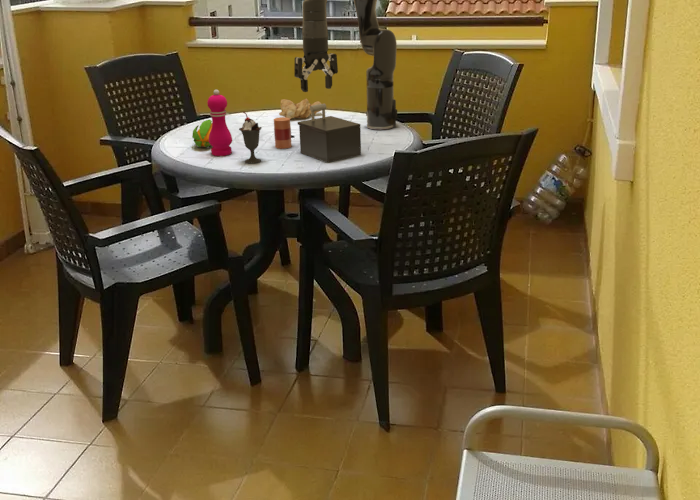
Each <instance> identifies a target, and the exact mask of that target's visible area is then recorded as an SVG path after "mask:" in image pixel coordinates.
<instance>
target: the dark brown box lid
mask: <svg viewBox="0 0 700 500" xmlns="http://www.w3.org/2000/svg"><path fill="white" fill-rule="evenodd" d="M326 109H327V104H326V103H321V104H318V105H313V106H310V111H311V115H310V116H311V119H307V120H300V121H297V125H298V126H299V125H301V126H304V127H307V128H311V129H314V130H317V131H320V132H324V133H331V132H336V131H341V130H346V129H351V128H356V127H360V128H361V123H358V122H353V121H350V120H347V119H343V118H340V117H336V116H333V115H329V116H326ZM319 110H321V112H322V113H321V116H322V117H317V118H315V114H314V111H319Z"/></svg>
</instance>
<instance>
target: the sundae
mask: <svg viewBox="0 0 700 500" xmlns="http://www.w3.org/2000/svg"><path fill="white" fill-rule="evenodd" d="M243 114H244V115H245V116H246V118H244V122H243V123H242V125H241V127H239V129H238V130H239V131H240V132H241V135H242V139H243V143H244V146H245V148H246V149H248V150H249V152H250V155H249V156H250V157H249V158H248V159H247V158H246V159H245V160H244V162H245V164H258V163H261V162H262V159H261V158H257V157H256V155H255V150H256V149H257V148H258V147H259V144H260V131H261V130H262V128H263V127H262V126H259V123H258V122H256V121H255V120H254V119H252V118H250V117H249V116H248V114H247V113H246V111H243Z"/></svg>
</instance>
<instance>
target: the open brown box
mask: <svg viewBox="0 0 700 500" xmlns="http://www.w3.org/2000/svg"><path fill="white" fill-rule="evenodd" d="M298 128H299V147H300V148H299V150H300V154H302V155H305V156H308V157H311V158H313V159H316V160H319V161H322V162H324V163H332V162H336V161H341V160H345V159H350V158H354V157H359V156H362V138H361V137H362V136H361V131H362V130H361V126H360V127H356V128H351V129H346V130H341V131H336V132H331V133H324V132H320V131H317V130H314V129H311V128H307V127H304V126H301V125H298Z"/></svg>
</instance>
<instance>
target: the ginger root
mask: <svg viewBox="0 0 700 500" xmlns="http://www.w3.org/2000/svg"><path fill="white" fill-rule="evenodd" d="M318 104H322V102H320V101H318V100H317V101H315V102H313V103H310V101H309V99H307V98H304V99H302V100H301V101H300V102H298V103H295V102H293V101H292V100H290V99H287V98H286V99H283V98H282V99H280V110H281V111H280V112H279V114H278V115H279V116H281V117H287V118H290V120H291V119H307V118H308V117H310V116H311V111H310V106H313V105H318ZM319 112H322V110H319V111H314V115H316V114H317V113H319Z"/></svg>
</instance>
